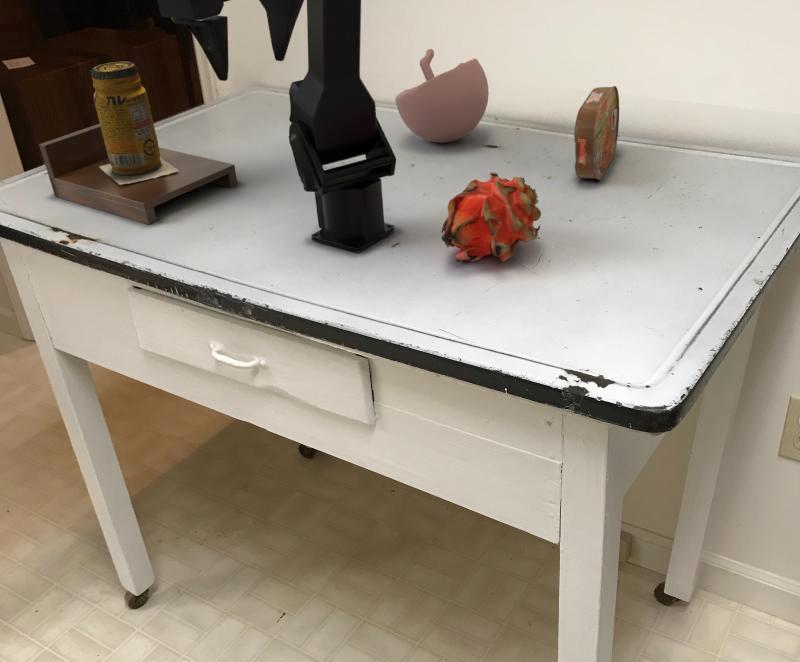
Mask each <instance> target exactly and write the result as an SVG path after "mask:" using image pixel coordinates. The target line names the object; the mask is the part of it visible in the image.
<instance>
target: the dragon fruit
mask: <svg viewBox="0 0 800 662" xmlns="http://www.w3.org/2000/svg"><path fill="white" fill-rule="evenodd" d="M489 175H490V178H489V179H488V180H486V181H480V180H478V179H473V180H471V181H470V182H469V183H468V184H467V186H466V187H465V188H464V190H462V191H461V192H460V193H458V194H456V195H455V196H453V197H452V198H451V199H449V201H448V203H447V211H448V213H447V214H448V216H447V218H446V219H445V221H444V222H443V225H442V228H441V229H442V230H441V233H443V234H442V236H441V240H442V242H444V244H445V247H447V249H449V247H451V248H457V249H459V250H458V251H457V252H455V253H454V255H453V256H454V258H455V261H456V262H457V263H459V262H461V261H463V262H464V261H467V262H470V263H471V262H472V263H473V262H475V261H479V260H481V259H482V258H484V257H485V256H488V255H491V256H495V257H498V258H499V261H500V262H502V263H504V262H506V261H508V259H511V258H512V257H514V255H516V253H517V249H516V248H517V247H518V245H519V243H520V242H524V243H530V242H532V241H535V240H537V238H538V235H539V231H540V229H541V225H538V227H534V222H536V221H539V220H540V219H541V215H542V212H541V210H540V208H539V207H538V206H536V205H538V203H539V200H538V198H539V196H538V193H537V191H536V189H535V188H532V187H531V185H529V184H527V183H526V180H525V178H524V177H521V176H514V177H513V178H512V179H511V180H510V179H508V178H501V177H500V176H499V174H498V173H497V172H494V171H491V172H490V173H489Z"/></svg>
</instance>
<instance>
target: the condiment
mask: <svg viewBox="0 0 800 662" xmlns="http://www.w3.org/2000/svg"><path fill="white" fill-rule="evenodd" d="M138 71H139V68H138V66H137V64H135V63H134V62H131V61H113V62H106V63H102V64H98V65H95V66H94V67H92V68H91V70H90V76H91V79H92V85H93V89H95V91H94V93H93V102H94V106H95V110H96V114H97V117H98V122H99V124H100V126H101V130H102V134H103V138H104V142H105V146H106V149H107V154H108V157H109V161H110V164H108V165H103V166H100V168H101V169H102V170H103V171H104V172H105V173H106V174H107V175H108V176H109V177H111V178H112V179H113V180H114V181H115V182H117V183H118V184H119V185H121V184H129V183H134V182H138V181H144V180H147V179H151V178H154V179H155V178H157V177H159V176H162V175H167V174H170V173H173V172H177V171H178V170H177V169H176V168H174V167H173V166H172V165H171V164H169V163H167V162H166V161H164V160H163V159H161V158H160V152H159V147H160V146H159V140H158V135H157V133H156V128H155V124H154V119H153V114H152V111H151V105H150V102H149V97H148V93H147V90H146V88H145V87H144V86H143V85H142V84H141V81H142V80H141V77H140V75H139V72H138Z"/></svg>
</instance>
